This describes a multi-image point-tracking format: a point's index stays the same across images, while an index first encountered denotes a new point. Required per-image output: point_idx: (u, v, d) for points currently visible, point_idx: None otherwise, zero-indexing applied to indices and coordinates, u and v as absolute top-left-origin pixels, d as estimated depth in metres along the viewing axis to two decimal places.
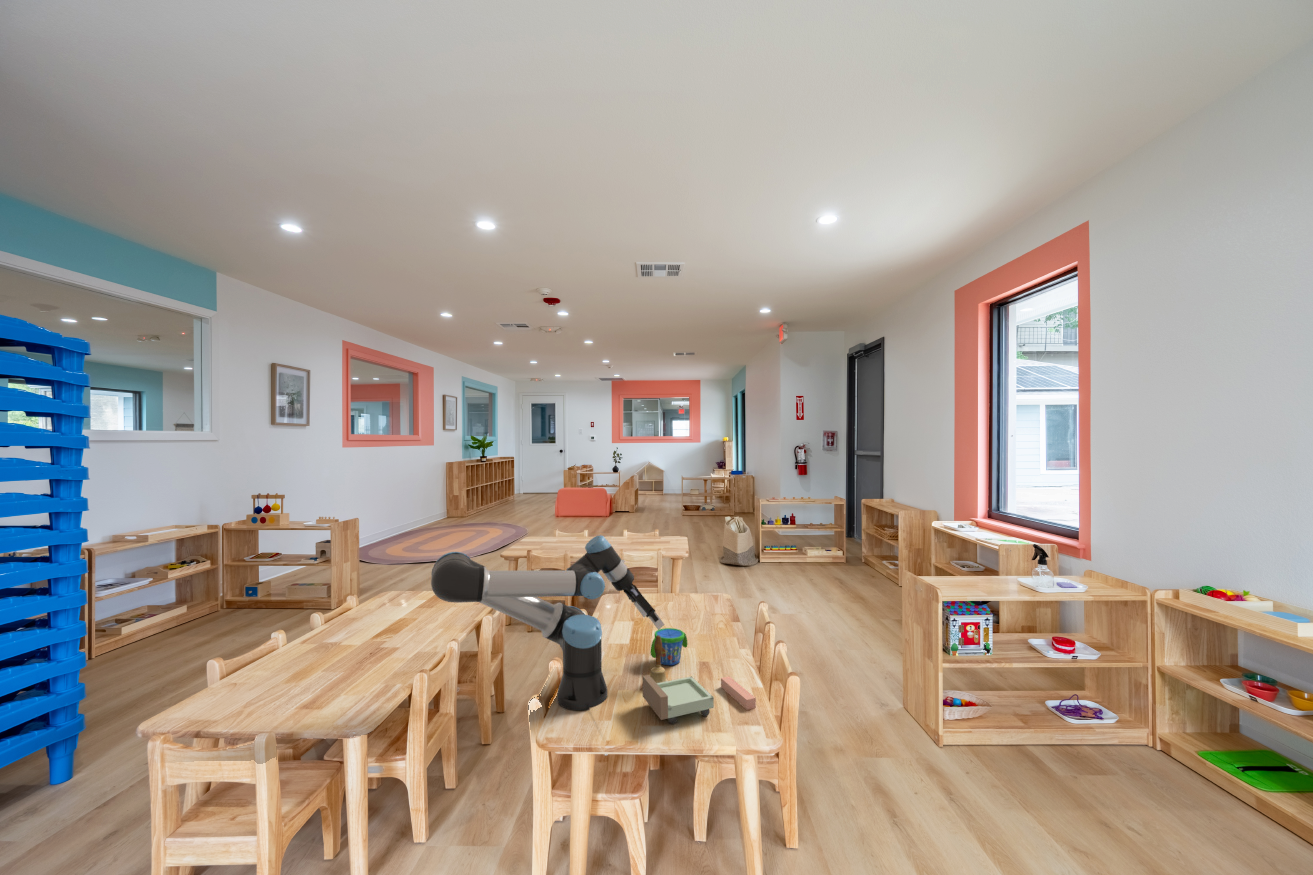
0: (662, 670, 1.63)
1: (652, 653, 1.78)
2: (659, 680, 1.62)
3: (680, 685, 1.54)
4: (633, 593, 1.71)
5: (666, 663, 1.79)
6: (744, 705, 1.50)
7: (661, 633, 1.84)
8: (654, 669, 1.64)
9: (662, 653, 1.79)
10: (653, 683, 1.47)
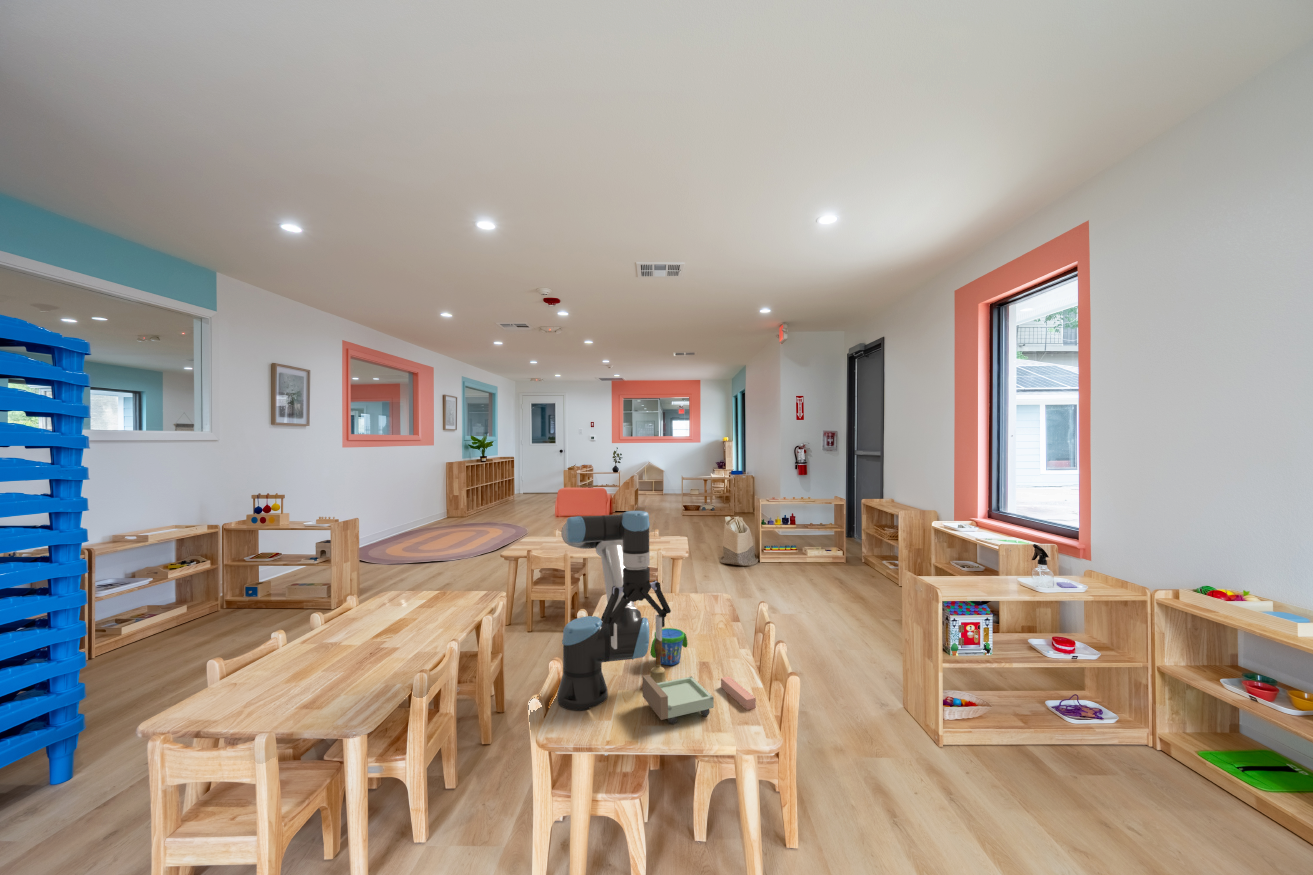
0: (662, 670, 1.63)
1: (652, 653, 1.78)
2: (659, 680, 1.62)
3: (680, 685, 1.54)
4: (612, 588, 1.42)
5: (666, 663, 1.79)
6: (744, 705, 1.50)
7: None
8: (654, 669, 1.64)
9: (662, 653, 1.79)
10: (653, 683, 1.47)
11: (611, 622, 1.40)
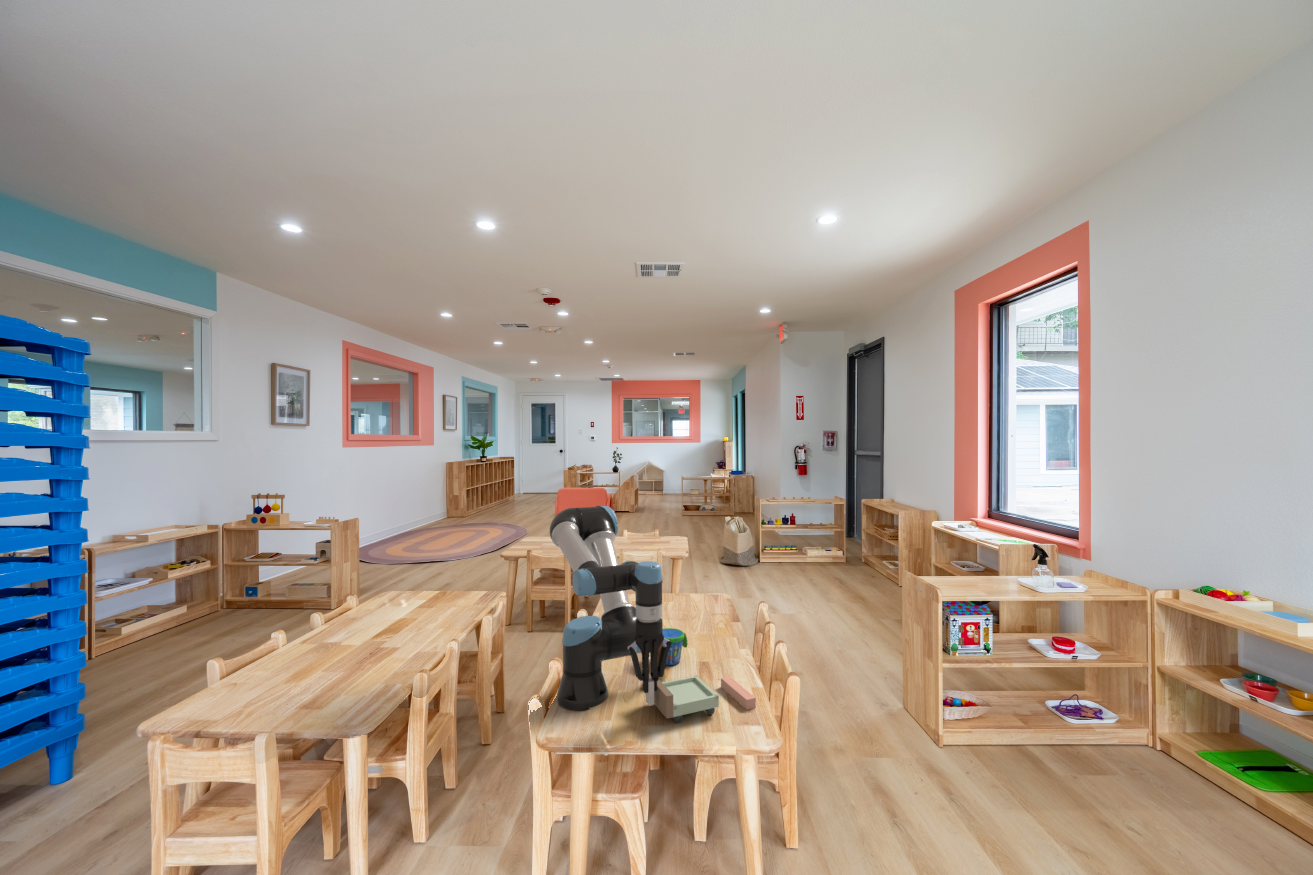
0: None
1: None
2: None
3: (685, 684, 1.55)
4: (627, 648, 1.43)
5: (666, 663, 1.79)
6: (744, 705, 1.50)
7: None
8: None
9: None
10: (658, 682, 1.48)
11: (646, 680, 1.43)
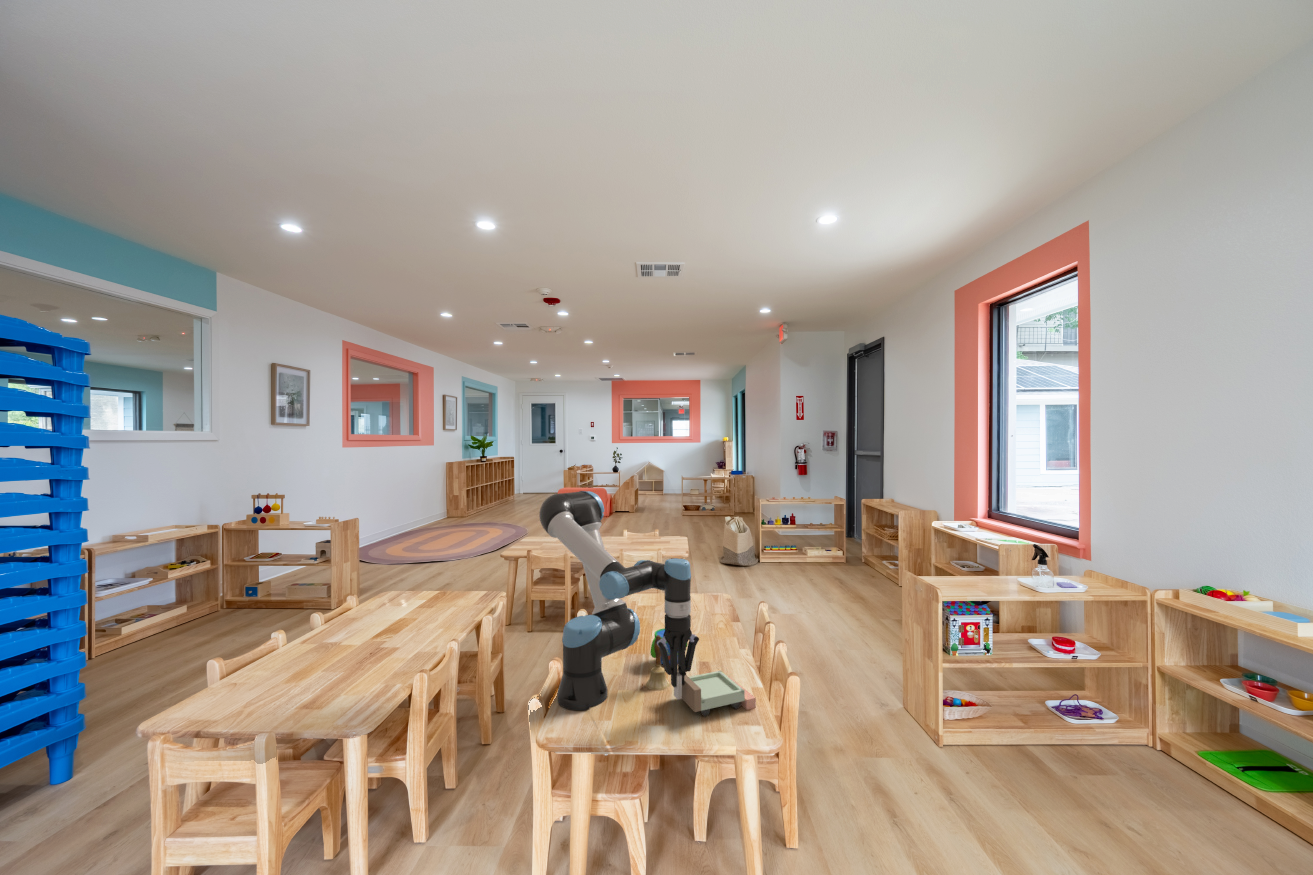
0: (662, 670, 1.63)
1: (652, 653, 1.78)
2: (659, 680, 1.62)
3: (710, 679, 1.58)
4: (657, 643, 1.47)
5: None
6: (744, 705, 1.50)
7: (661, 633, 1.84)
8: (654, 669, 1.64)
9: None
10: (685, 677, 1.51)
11: (674, 674, 1.47)
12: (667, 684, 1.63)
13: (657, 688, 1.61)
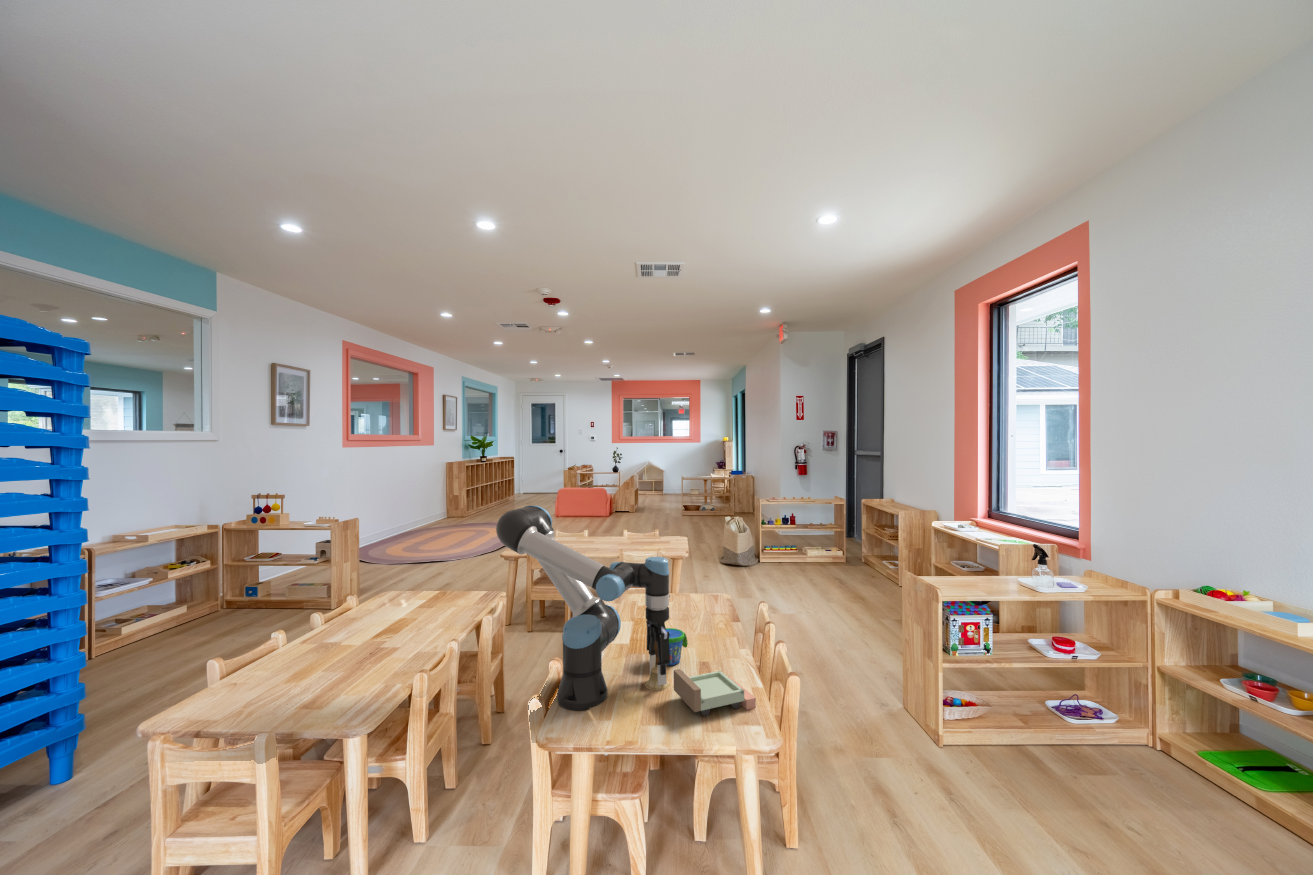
0: None
1: None
2: None
3: (710, 679, 1.58)
4: (663, 635, 1.58)
5: None
6: (744, 705, 1.50)
7: None
8: (654, 669, 1.64)
9: None
10: (685, 677, 1.51)
11: None
12: (667, 684, 1.63)
13: (657, 688, 1.61)
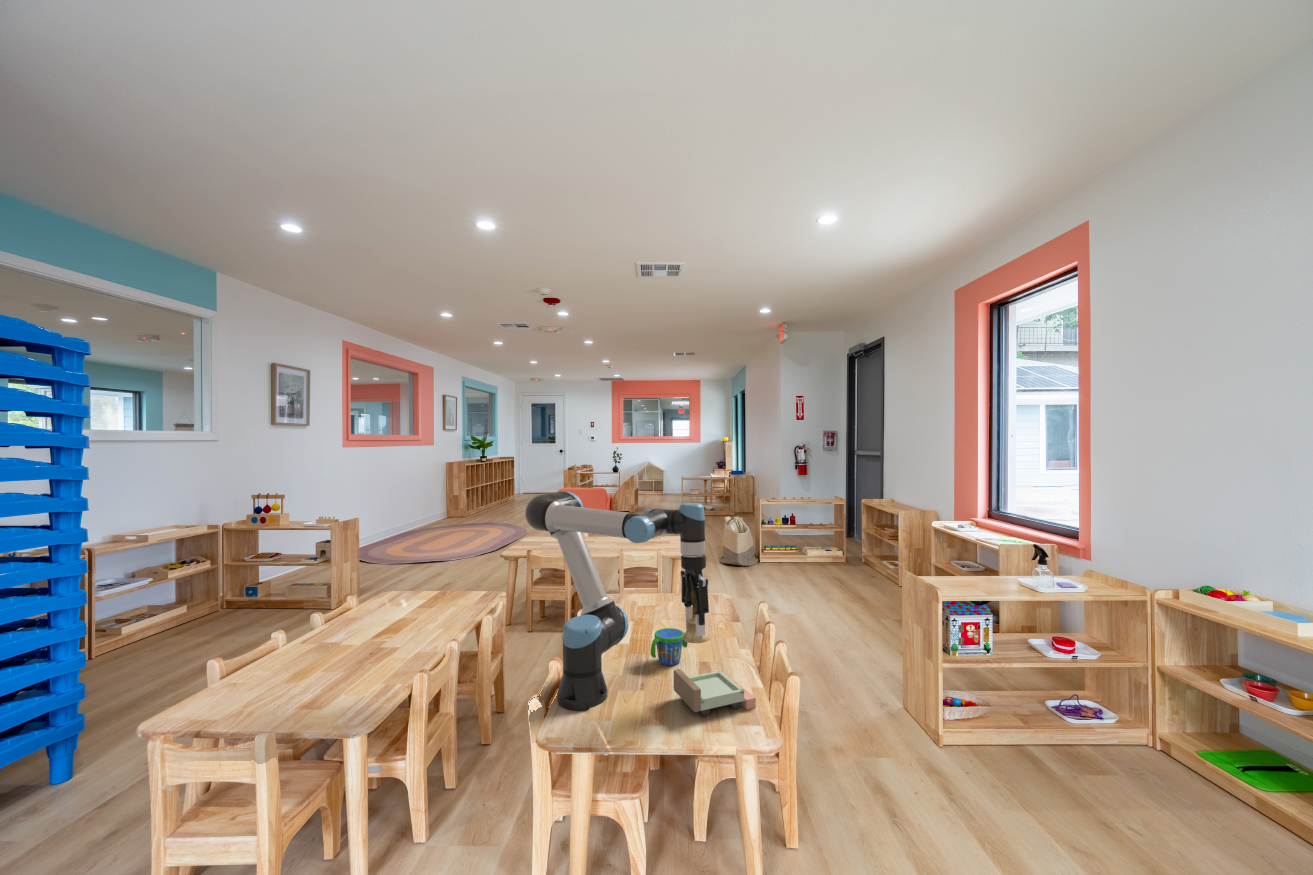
0: None
1: (652, 653, 1.78)
2: None
3: (710, 679, 1.58)
4: (702, 582, 1.50)
5: (666, 663, 1.79)
6: (744, 705, 1.50)
7: (661, 633, 1.84)
8: (691, 620, 1.55)
9: (662, 653, 1.79)
10: (685, 677, 1.51)
11: None
12: (706, 635, 1.54)
13: (696, 639, 1.52)
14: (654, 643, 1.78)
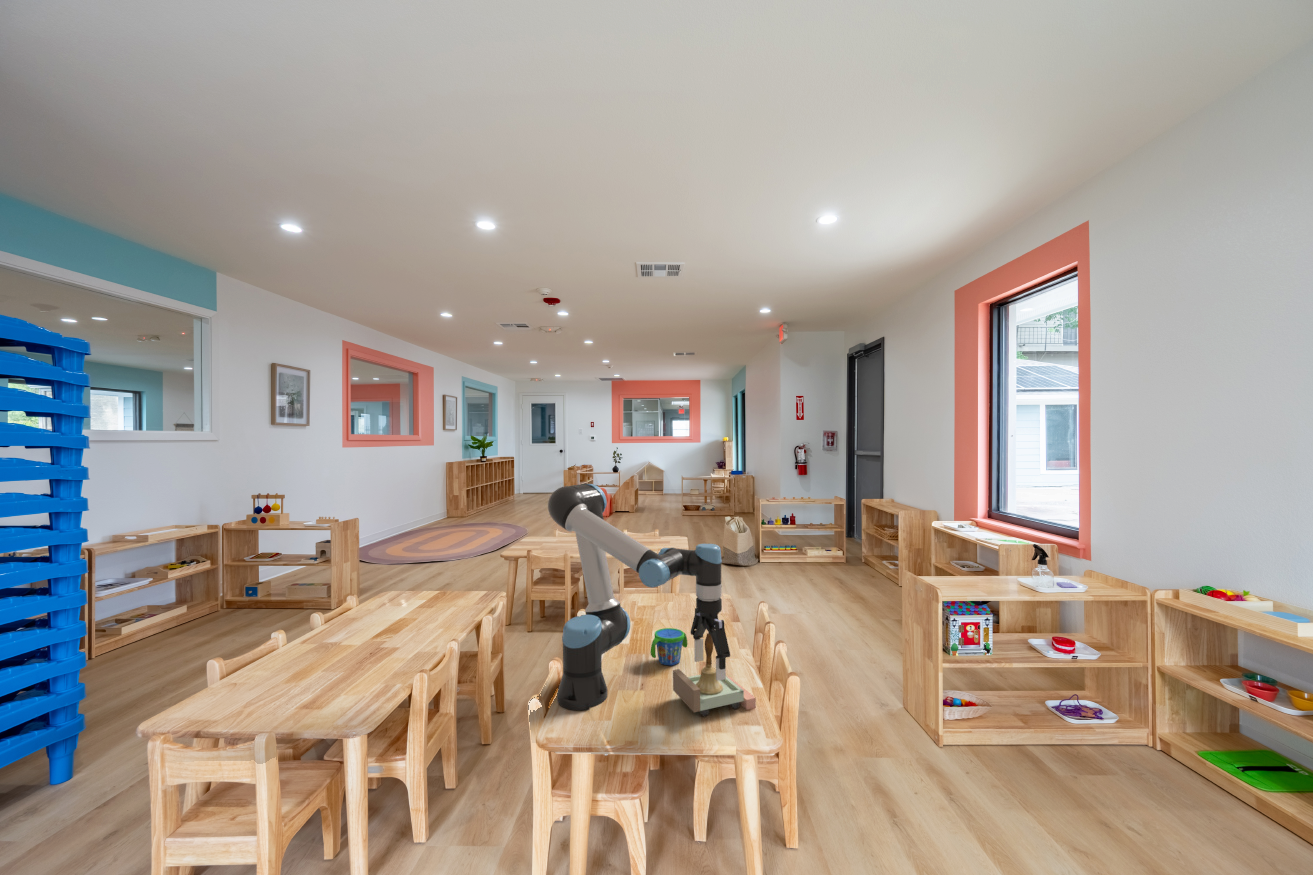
0: (714, 671, 1.51)
1: (652, 653, 1.78)
2: (710, 682, 1.50)
3: None
4: (718, 623, 1.46)
5: (666, 663, 1.79)
6: (744, 705, 1.50)
7: (661, 633, 1.84)
8: (705, 670, 1.52)
9: (662, 653, 1.79)
10: (684, 677, 1.51)
11: None
12: (719, 686, 1.51)
13: (709, 690, 1.49)
14: (654, 643, 1.78)
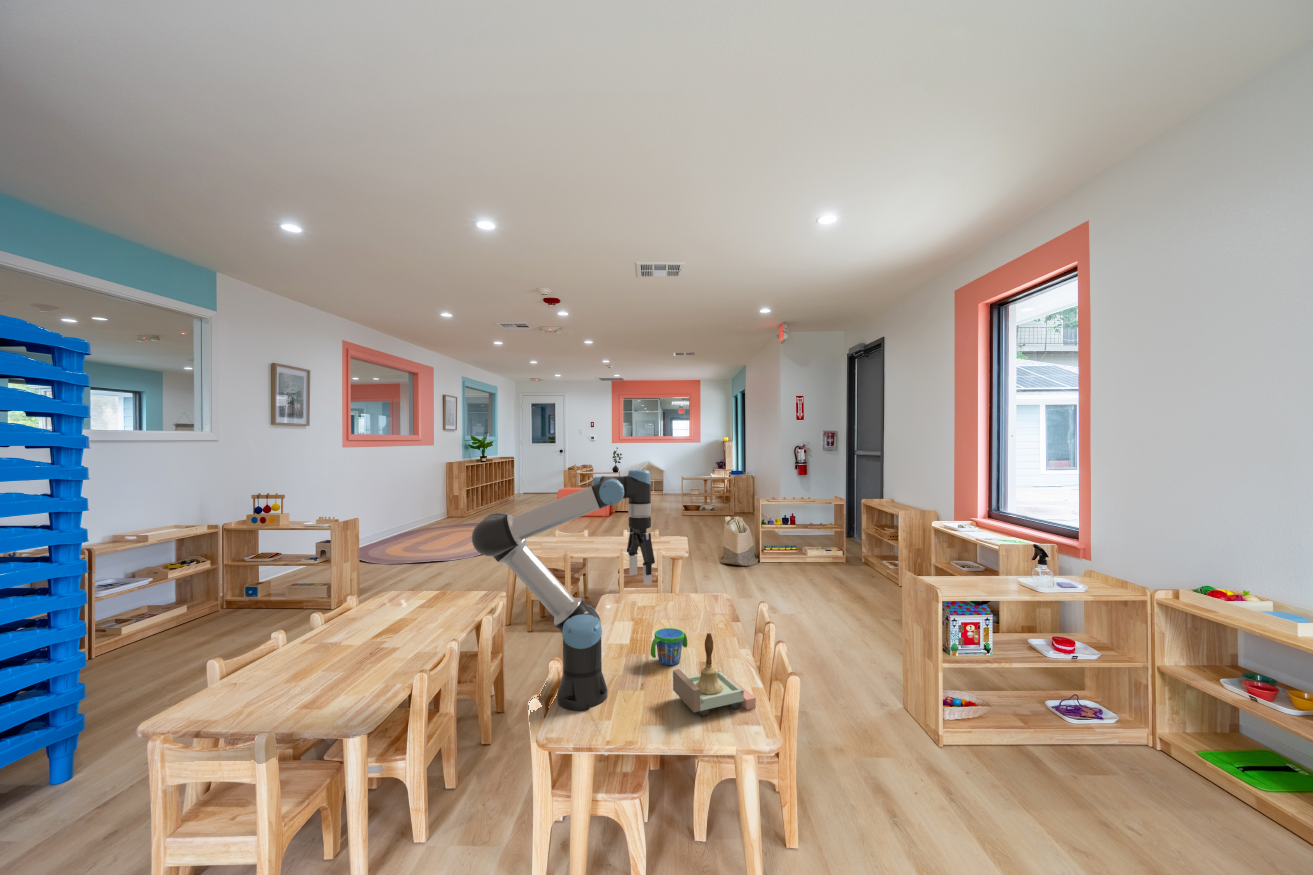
0: (714, 671, 1.51)
1: (652, 653, 1.78)
2: (710, 682, 1.50)
3: None
4: (645, 535, 1.67)
5: (666, 663, 1.79)
6: (744, 705, 1.50)
7: (661, 633, 1.84)
8: (705, 670, 1.52)
9: (662, 653, 1.79)
10: (684, 677, 1.51)
11: None
12: (719, 686, 1.51)
13: (709, 690, 1.49)
14: (654, 643, 1.78)
